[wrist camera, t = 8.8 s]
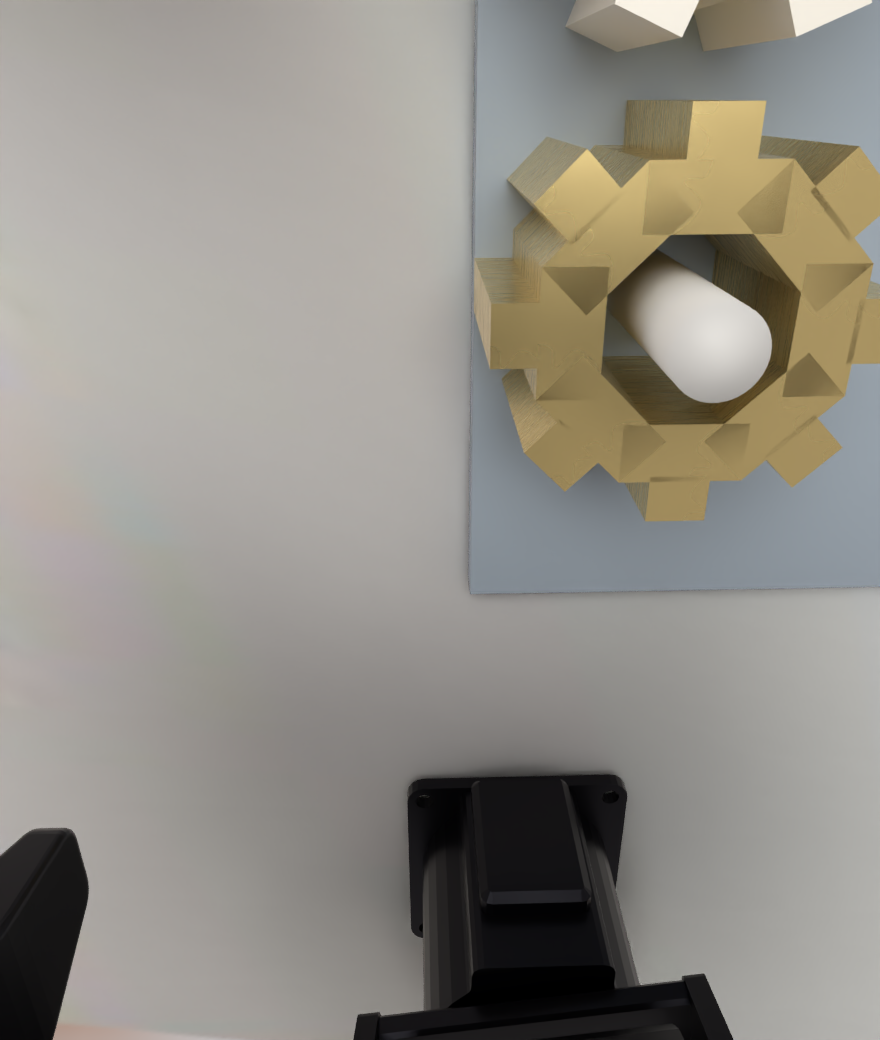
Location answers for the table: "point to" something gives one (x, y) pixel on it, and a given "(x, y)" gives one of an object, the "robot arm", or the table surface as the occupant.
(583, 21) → the cream gear
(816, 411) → the brass gear
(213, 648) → the table surface
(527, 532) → the gear board
